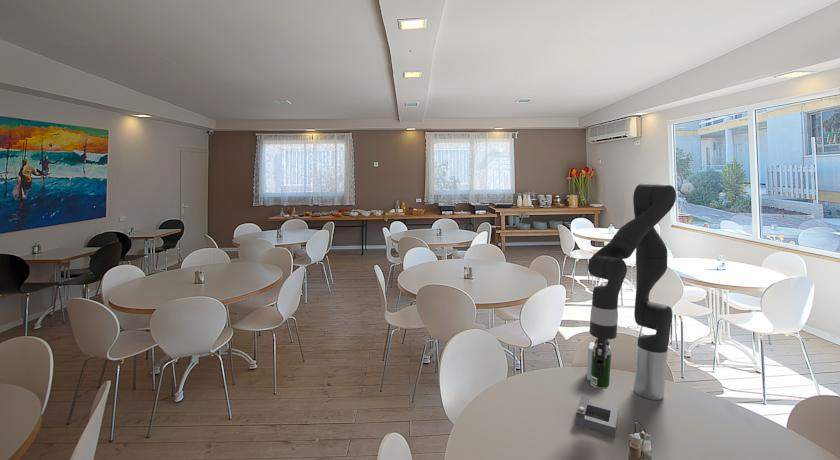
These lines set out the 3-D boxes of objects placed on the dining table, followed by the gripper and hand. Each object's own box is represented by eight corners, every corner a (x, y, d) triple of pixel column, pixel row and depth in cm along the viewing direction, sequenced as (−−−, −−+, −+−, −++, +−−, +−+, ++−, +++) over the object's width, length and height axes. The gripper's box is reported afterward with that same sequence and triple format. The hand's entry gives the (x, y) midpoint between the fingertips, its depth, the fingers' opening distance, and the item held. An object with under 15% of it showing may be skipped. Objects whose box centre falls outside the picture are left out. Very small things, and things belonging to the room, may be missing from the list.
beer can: (602, 391, 117) (605, 353, 116) (586, 383, 122) (588, 347, 120) (612, 386, 120) (615, 349, 119) (596, 379, 125) (598, 343, 123)
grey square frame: (580, 408, 130) (581, 393, 129) (617, 418, 124) (618, 403, 124) (575, 425, 120) (576, 410, 120) (615, 437, 115) (616, 421, 114)
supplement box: (609, 376, 152) (611, 345, 150) (607, 384, 145) (609, 352, 144) (588, 371, 155) (590, 341, 154) (586, 379, 149) (588, 347, 148)
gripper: (615, 330, 110) (611, 386, 112) (618, 315, 123) (615, 366, 125) (587, 325, 114) (583, 380, 116) (593, 311, 127) (590, 361, 129)
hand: (600, 373), depth 120 cm, fingers closed on beer can, 5 cm apart
